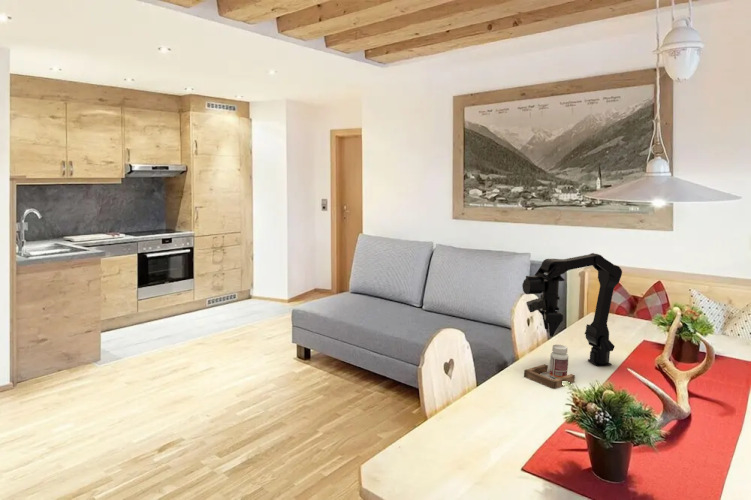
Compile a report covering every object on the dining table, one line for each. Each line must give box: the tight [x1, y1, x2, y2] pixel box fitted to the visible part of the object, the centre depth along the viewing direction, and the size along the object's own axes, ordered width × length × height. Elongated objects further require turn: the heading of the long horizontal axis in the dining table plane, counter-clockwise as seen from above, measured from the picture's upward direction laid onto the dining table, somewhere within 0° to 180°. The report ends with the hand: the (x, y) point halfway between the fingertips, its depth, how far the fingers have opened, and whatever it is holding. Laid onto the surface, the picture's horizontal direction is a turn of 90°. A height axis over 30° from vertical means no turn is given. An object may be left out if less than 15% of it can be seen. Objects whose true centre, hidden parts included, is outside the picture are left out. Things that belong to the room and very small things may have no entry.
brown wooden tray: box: [523, 363, 576, 390], centre depth 188 cm, size 12×13×2 cm
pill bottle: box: [549, 344, 569, 379], centre depth 190 cm, size 6×6×11 cm
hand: (548, 332), depth 198 cm, fingers open, 9 cm apart
